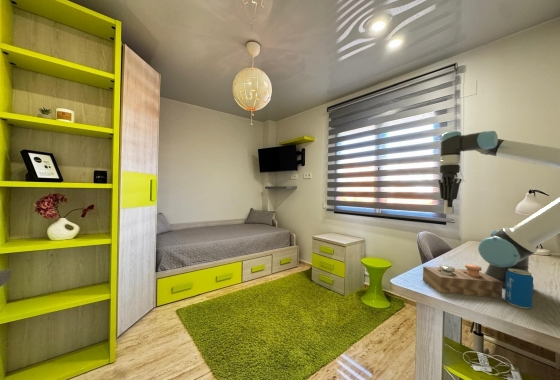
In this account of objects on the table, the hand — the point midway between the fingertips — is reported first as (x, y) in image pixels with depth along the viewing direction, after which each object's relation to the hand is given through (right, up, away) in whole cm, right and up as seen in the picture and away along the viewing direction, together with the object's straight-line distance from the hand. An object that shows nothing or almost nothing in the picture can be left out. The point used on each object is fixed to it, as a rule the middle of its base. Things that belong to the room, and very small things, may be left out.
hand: (447, 213), depth 103 cm
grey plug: (-12, -28, -14) cm, 33 cm away
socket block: (-7, -29, -15) cm, 33 cm away
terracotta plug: (-2, -27, -15) cm, 31 cm away
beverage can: (+4, -30, -27) cm, 40 cm away
